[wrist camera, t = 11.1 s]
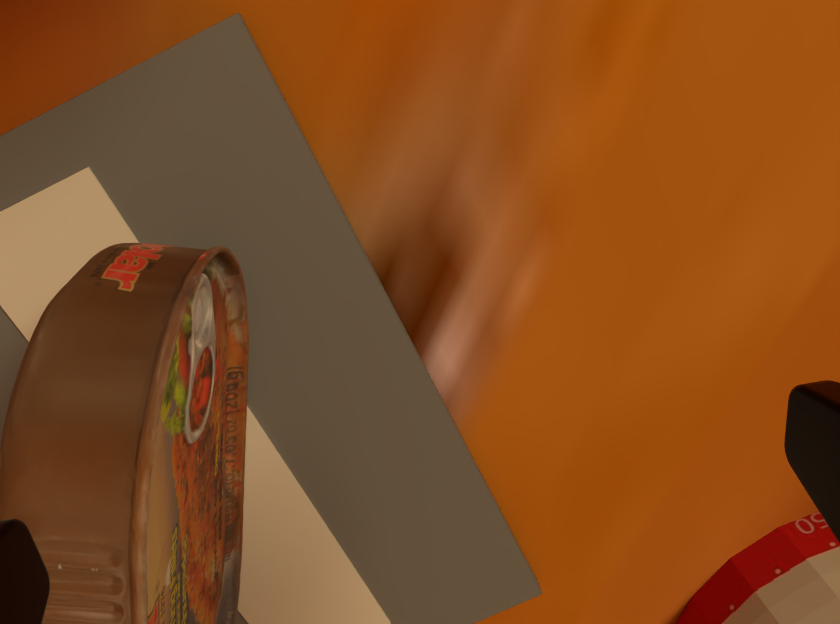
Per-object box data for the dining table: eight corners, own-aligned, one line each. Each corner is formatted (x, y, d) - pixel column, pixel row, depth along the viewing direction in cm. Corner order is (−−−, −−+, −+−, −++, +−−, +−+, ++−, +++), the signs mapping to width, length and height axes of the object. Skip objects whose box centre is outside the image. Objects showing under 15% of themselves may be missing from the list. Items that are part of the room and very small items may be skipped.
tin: (238, 650, 23) (184, 963, 15) (139, 649, 23) (32, 970, 15) (255, 206, 18) (184, 342, 10) (126, 194, 17) (-53, 326, 10)
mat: (-248, 265, 18) (-267, 273, 17) (239, 13, 17) (235, 13, 16) (184, 736, 25) (180, 752, 25) (538, 583, 24) (543, 595, 24)
